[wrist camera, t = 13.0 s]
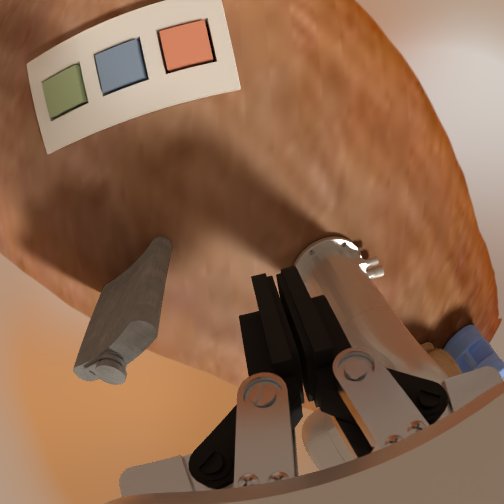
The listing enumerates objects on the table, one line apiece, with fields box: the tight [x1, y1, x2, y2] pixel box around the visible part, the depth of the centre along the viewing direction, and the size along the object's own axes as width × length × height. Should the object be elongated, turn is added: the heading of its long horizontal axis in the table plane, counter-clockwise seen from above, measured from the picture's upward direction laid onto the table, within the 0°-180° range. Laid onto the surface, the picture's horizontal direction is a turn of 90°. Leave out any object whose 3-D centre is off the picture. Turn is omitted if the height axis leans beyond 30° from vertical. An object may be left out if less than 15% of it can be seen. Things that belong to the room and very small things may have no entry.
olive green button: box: [42, 65, 88, 118], centre depth 26 cm, size 5×5×3 cm
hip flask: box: [73, 236, 172, 384], centre depth 34 cm, size 16×4×20 cm, turn 127°
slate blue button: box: [95, 39, 149, 93], centre depth 26 cm, size 5×5×3 cm
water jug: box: [443, 325, 504, 378], centre depth 60 cm, size 16×16×28 cm
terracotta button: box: [159, 20, 213, 72], centre depth 26 cm, size 5×5×3 cm
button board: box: [27, 0, 241, 155], centre depth 26 cm, size 26×14×3 cm, turn 101°
